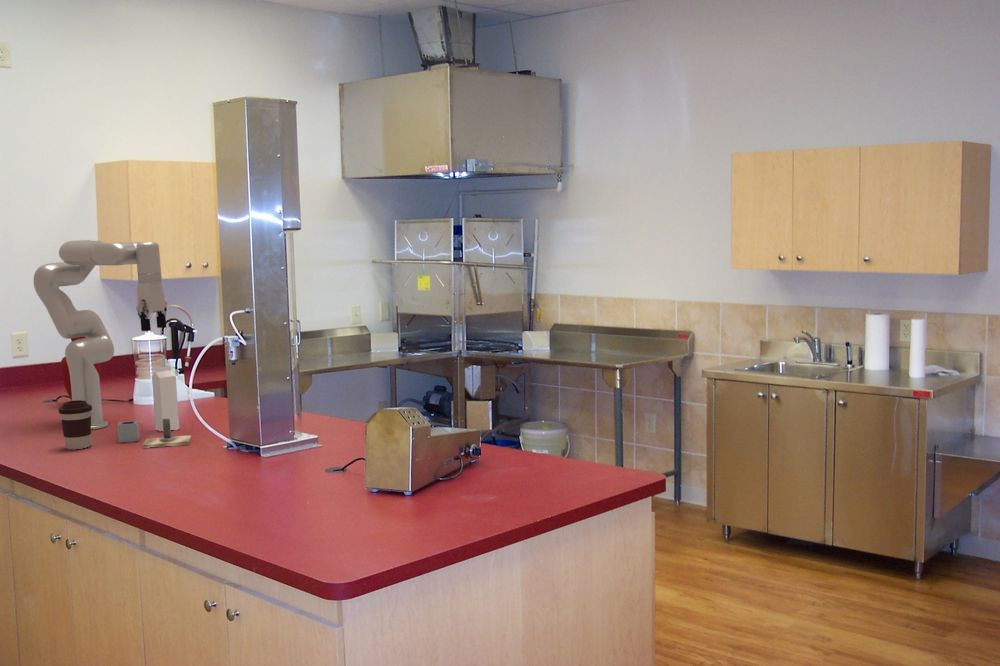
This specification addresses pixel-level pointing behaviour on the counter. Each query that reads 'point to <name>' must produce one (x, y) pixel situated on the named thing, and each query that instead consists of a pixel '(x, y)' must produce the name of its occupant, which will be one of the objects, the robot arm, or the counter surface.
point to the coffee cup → (76, 424)
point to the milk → (165, 398)
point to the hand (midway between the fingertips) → (154, 329)
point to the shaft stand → (167, 438)
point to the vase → (66, 372)
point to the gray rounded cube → (128, 431)
